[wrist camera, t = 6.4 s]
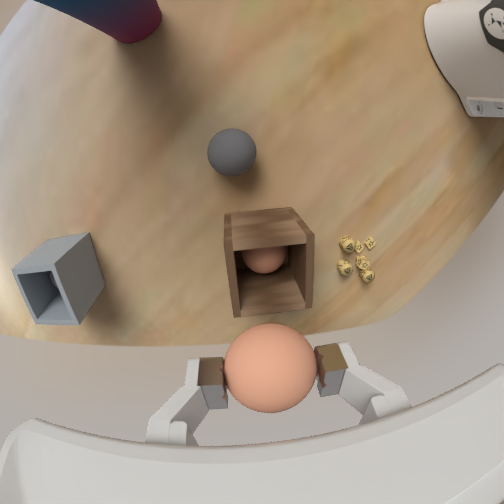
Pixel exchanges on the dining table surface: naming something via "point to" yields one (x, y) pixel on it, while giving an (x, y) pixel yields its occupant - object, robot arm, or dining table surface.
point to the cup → (114, 16)
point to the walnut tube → (279, 281)
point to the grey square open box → (60, 280)
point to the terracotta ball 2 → (270, 368)
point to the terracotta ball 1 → (264, 258)
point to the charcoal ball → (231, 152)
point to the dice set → (361, 262)
